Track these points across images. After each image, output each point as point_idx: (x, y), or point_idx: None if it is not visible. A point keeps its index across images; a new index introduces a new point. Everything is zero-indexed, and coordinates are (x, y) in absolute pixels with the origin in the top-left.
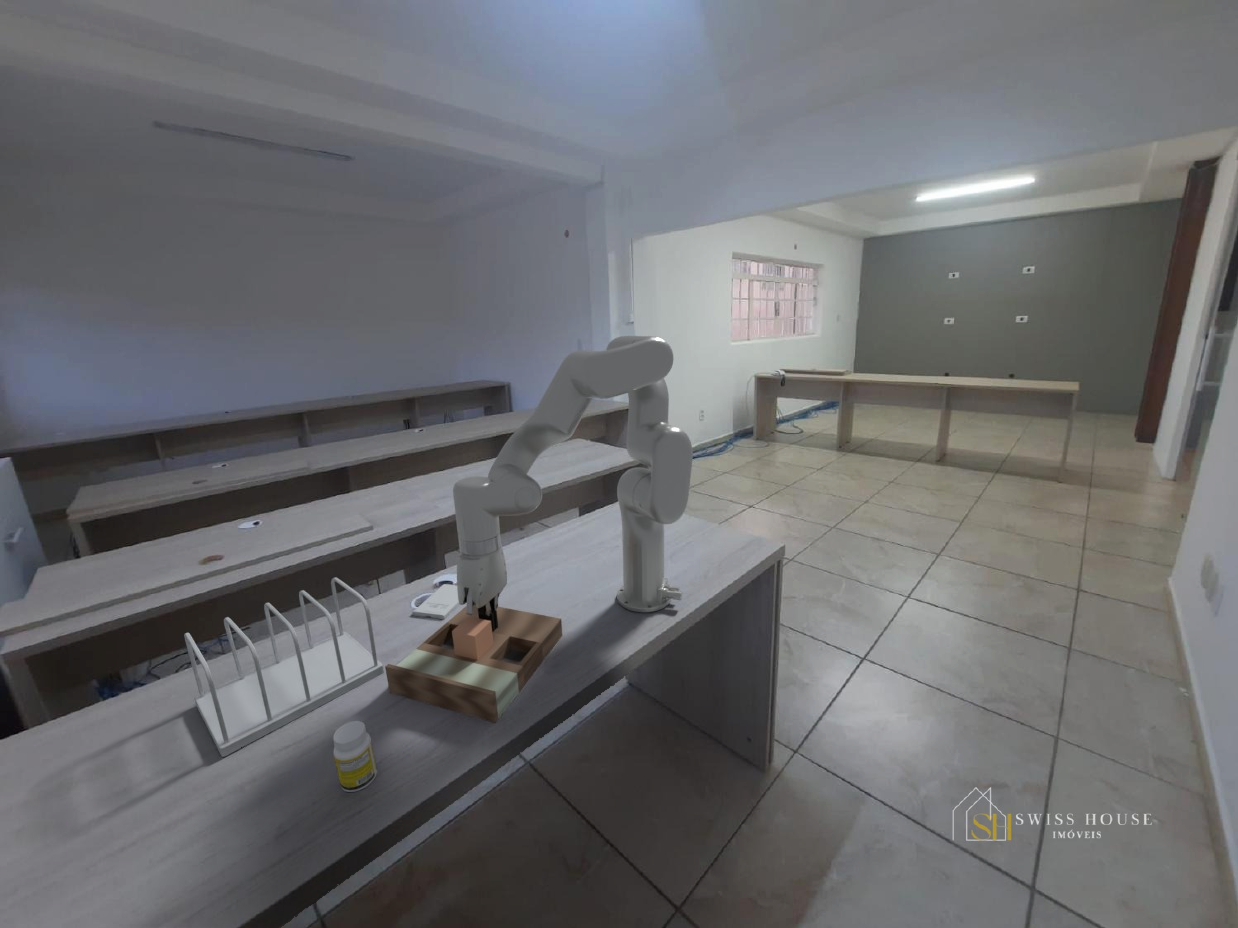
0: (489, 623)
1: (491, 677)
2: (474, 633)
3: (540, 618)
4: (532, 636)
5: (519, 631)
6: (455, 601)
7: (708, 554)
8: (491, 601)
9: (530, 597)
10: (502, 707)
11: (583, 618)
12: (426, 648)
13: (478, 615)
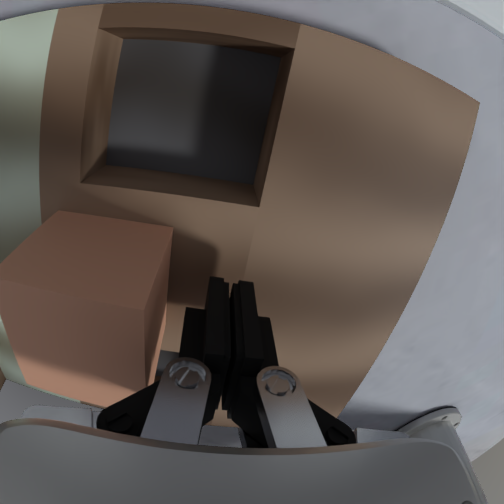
0: None
1: None
2: (38, 378)
3: (336, 393)
4: None
5: None
6: (493, 18)
7: (485, 436)
8: (264, 438)
9: (499, 253)
10: None
11: (381, 394)
12: (64, 52)
13: (207, 329)
